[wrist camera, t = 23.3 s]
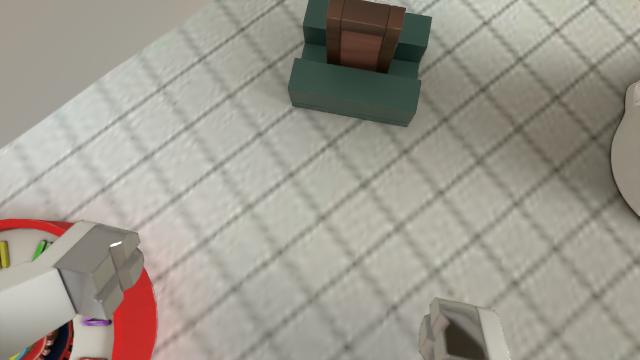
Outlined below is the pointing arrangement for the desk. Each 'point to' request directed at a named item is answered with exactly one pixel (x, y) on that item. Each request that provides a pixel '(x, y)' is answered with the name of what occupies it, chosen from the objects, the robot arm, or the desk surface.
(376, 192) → the desk surface
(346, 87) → the holder
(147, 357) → the toy clock
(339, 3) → the frame
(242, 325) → the desk surface
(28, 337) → the robot arm
